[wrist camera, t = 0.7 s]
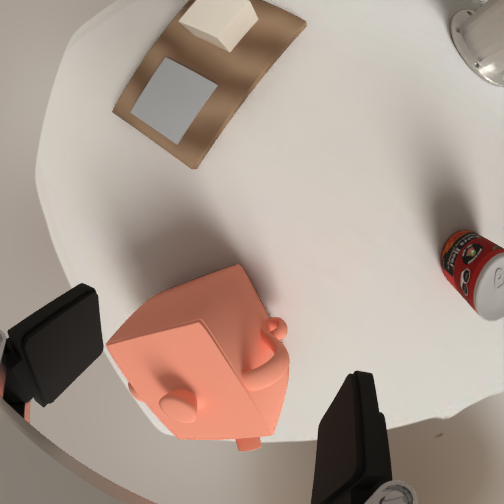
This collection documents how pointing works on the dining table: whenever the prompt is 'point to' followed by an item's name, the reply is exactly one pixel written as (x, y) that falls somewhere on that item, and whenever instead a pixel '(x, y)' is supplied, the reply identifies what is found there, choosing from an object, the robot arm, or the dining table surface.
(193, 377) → the teapot
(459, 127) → the dining table surface
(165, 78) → the pad
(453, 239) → the canned food
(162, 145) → the base board
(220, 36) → the cream cube
